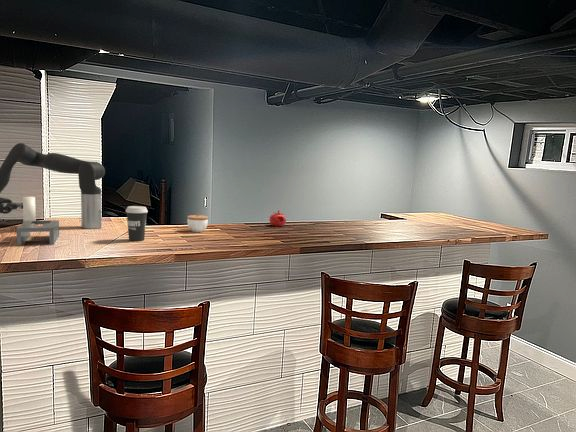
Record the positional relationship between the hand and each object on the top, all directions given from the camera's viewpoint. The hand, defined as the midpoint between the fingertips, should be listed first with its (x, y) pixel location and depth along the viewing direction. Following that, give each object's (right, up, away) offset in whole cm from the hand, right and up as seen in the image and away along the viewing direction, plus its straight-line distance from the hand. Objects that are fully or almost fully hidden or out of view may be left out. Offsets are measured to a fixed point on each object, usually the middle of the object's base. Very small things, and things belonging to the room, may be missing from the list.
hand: (20, 208), depth 205 cm
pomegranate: (+121, -10, +52) cm, 132 cm away
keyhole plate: (+21, -14, -20) cm, 32 cm away
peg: (+6, -11, -2) cm, 12 cm away
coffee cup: (+58, -15, -9) cm, 61 cm away
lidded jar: (+80, -12, +21) cm, 83 cm away
